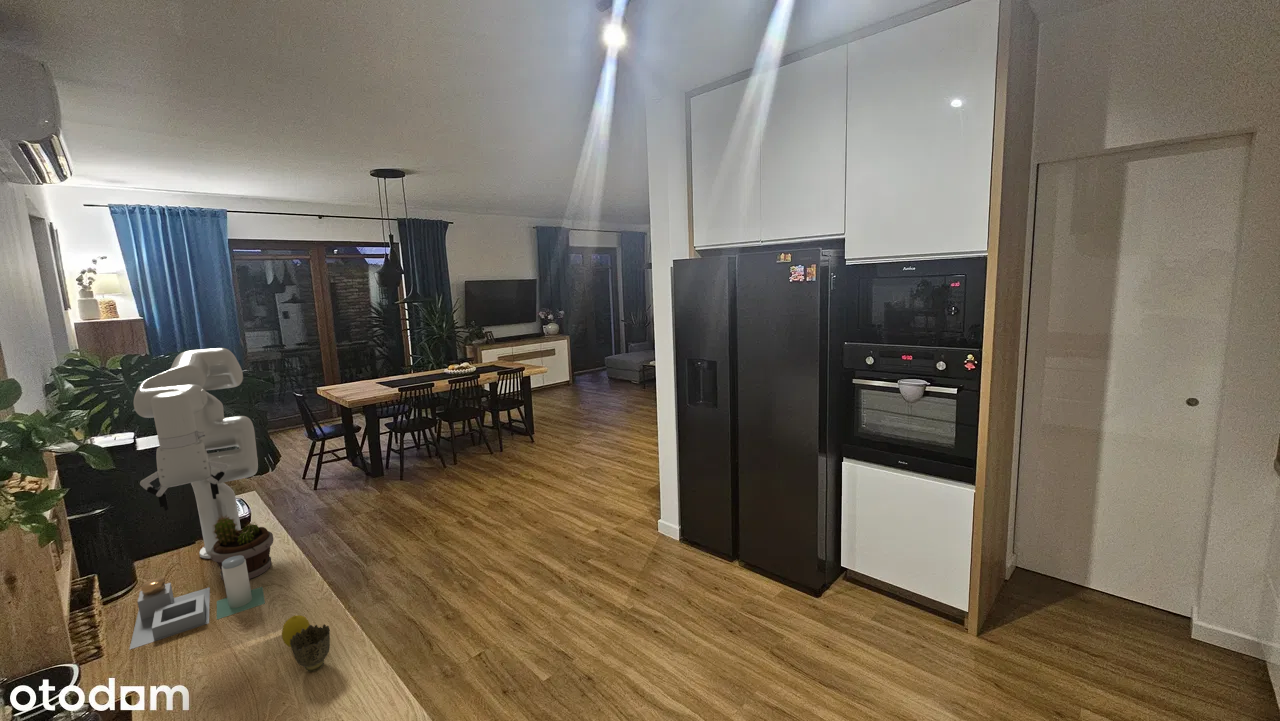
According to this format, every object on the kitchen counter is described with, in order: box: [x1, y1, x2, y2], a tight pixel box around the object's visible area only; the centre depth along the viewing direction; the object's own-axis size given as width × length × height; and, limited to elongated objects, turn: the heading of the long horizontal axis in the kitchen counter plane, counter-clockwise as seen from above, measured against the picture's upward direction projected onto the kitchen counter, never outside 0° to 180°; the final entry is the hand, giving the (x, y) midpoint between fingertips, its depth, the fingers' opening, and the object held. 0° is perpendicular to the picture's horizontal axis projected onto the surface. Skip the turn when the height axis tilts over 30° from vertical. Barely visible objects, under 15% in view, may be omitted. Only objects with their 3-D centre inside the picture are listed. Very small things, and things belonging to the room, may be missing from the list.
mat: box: [216, 586, 266, 620], centre depth 141 cm, size 10×10×1 cm
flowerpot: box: [210, 515, 274, 581], centre depth 154 cm, size 14×15×20 cm
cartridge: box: [222, 555, 252, 608], centre depth 140 cm, size 5×5×12 cm
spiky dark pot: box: [290, 624, 331, 673], centre depth 117 cm, size 8×7×8 cm
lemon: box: [281, 614, 311, 648], centre depth 124 cm, size 6×6×8 cm
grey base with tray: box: [128, 582, 211, 650], centre depth 136 cm, size 20×14×6 cm
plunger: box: [140, 577, 166, 595], centre depth 138 cm, size 4×4×6 cm
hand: (191, 502), depth 139 cm, fingers open, 9 cm apart
